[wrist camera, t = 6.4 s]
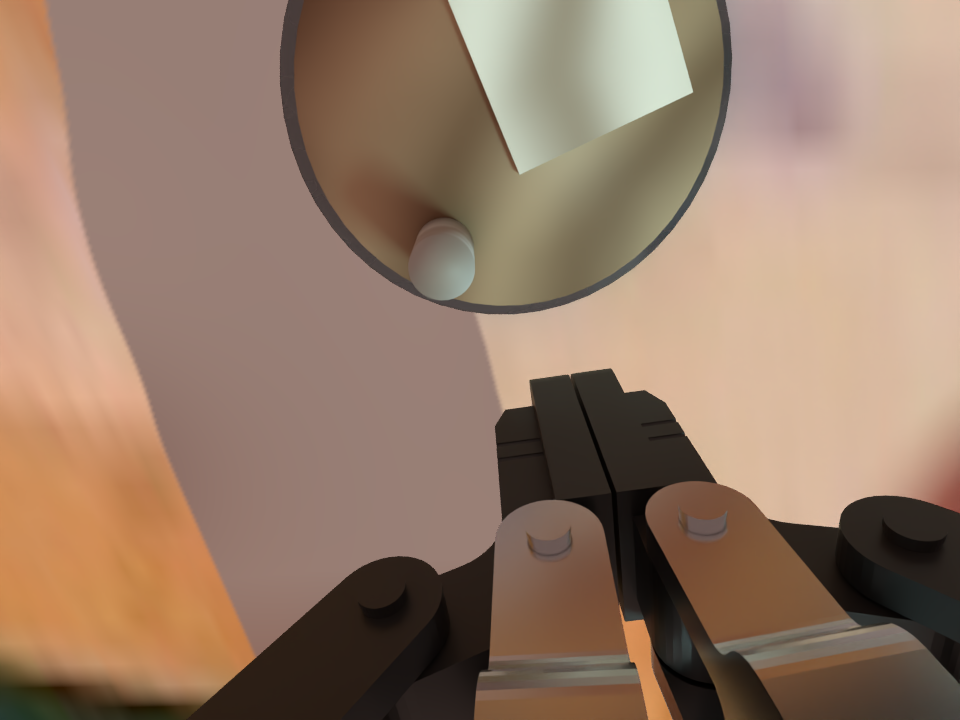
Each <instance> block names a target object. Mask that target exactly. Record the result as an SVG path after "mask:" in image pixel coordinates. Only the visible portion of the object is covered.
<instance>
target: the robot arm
mask: <svg viewBox="0 0 960 720" xmlns="http://www.w3.org/2000/svg"><path fill="white" fill-rule="evenodd" d="M530 391H531V398H532V406H530V407H522V408H515V409H508V410H505V411H504V413H503V414H502V416H501V417H500V419H499V421H498V422H497V424H496V426H495V433H496V444H497V458H498V471H499V485H500V497H501V510H502V523H501V524H500V525H499V527H498V530H497V532H496V537H495V542H494V543H493V545H492V546H491V547H490V548H489V549H488V550H487V551H486V552H485V553H483V554H482V555H481V556H479V557H478V558H476V559H475V560H473V561H472V562H470V563H467V564H465V565H463V566H461V567H458V568H456V569H453V570H451V571H448V572H446V573H443V574H441V575H438V574H437V572H436V571H435V569H434V568H432V567H431V566H430V565H429V564H427V563H426V562H424V561H422V560H419V559H416V558H412V557H402V556H397V557H388V558H383V559H380V560H377V561H374V562H371V563H369V564H367V565H364V566H363V567H361V568H359V569H358V570H356V571H354V572H353V573H352V574H350V575H349V576H348V577H346V578H345V579H344V580H343V581H342V582H341V583H340V584H339V585H338V586H336V587H335V588H334V589H333V590H332V591H331V592H330V593H328V594H327V595H326V596H325V597H324V598H323V599H322V600H321V601H319V602H318V603H317V604H316V605H315V606H314V607H313V608H312V609H310V610H309V611H308V612H307V613H306V614H305V615H304V616H303V617H301V618H300V619H299V620H298V621H297V622H296V623H295V624H293V625H292V626H291V627H290V628H289V629H288V630H287V631H286V632H285V633H283V634H282V635H281V636H280V637H279V638H278V639H277V640H276V641H274V642H273V643H272V644H271V645H270V646H269V647H268V648H267V649H266V650H264V651H263V652H262V653H261V654H260V655H259V656H257V657H256V658H255V659H254V660H253V661H252V662H251V663H250V664H248V665H247V666H246V667H245V668H244V669H243V670H242V671H241V672H239V673H238V674H237V675H236V676H235V677H234V678H233V679H232V680H230V681H229V682H228V683H227V684H226V685H225V686H224V687H223V688H221V689H220V690H219V691H218V692H217V693H216V694H215V695H214V696H212V697H211V698H210V699H209V700H208V701H207V702H206V703H205V704H203V705H202V706H201V707H200V708H199V709H198V710H197V711H196V712H194V713H193V714H192V715H191V716H190V717H189V718H188V719H187V720H648V716H647V711H646V706H645V702H644V697H643V692H642V688H641V683H640V679H639V675H638V671H637V668H636V665H635V663H634V662H633V663H631V662H630V659H629V654H628V649H627V644H626V639H625V634H624V629H623V624H622V619H621V614H620V609H619V603H620V606H621V610H622V613H623V616H624V620H625V621H634V620H642V619H644V621H645V624H646V627H647V630H648V633H649V636H650V641H651V662H652V668H653V672H654V675H655V677H656V680H657V682H658V684H659V687H660V689H661V692H662V694H663V697H664V699H665V702H666V704H667V707H668V709H669V711H670V714H671V716H672V719H673V720H960V513H957V512H954V511H951V510H949V509H946V508H943V507H940V506H937V505H934V504H931V503H928V502H925V501H921V500H917V499H912V498H907V497H899V496H873V497H867V498H863V499H860V500H857V501H855V502H853V503H851V504H849V505H848V506H847V507H846V508H845V509H844V511H843V512H842V514H841V517H840V523H839V528H834V527H823V526H813V525H802V524H792V523H785V522H779V521H775V520H770V519H767V518H766V517H765V515H764V514H763V513H762V512H761V511H760V509H759V508H758V507H757V506H756V505H755V504H754V503H753V502H752V501H751V500H750V499H749V498H748V497H746V496H745V495H743V494H742V493H740V492H738V491H736V490H734V489H732V488H729V487H727V486H723V485H720V484H717V482H716V481H715V479H714V478H713V476H712V474H711V473H710V471H709V470H708V468H707V467H706V465H705V464H704V462H703V461H702V459H701V457H700V456H699V454H698V453H697V451H696V450H695V448H694V447H693V445H692V443H691V442H690V440H689V439H688V437H687V436H685V433H684V431H683V430H682V428H681V426H680V425H679V423H678V422H676V419H675V417H674V416H673V414H672V412H671V411H670V409H669V408H668V406H667V405H666V403H665V402H663V401H662V400H660V399H658V398H657V397H655V396H653V395H652V394H650V393H648V392H647V391H645V390H643V391H636V392H629V393H624V391H623V389H622V387H621V386H620V384H619V382H618V380H617V378H616V376H615V374H614V372H613V371H612V369H603V370H596V371H589V372H582V373H575V374H571V379H570V377H569V375H561V376H554V377H547V378H540V379H533V380H530Z"/></svg>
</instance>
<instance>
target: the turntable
mask: <svg viewBox="0 0 960 720" xmlns="http://www.w3.org/2000/svg"><path fill="white" fill-rule="evenodd" d="M723 70H724V49H723V39H722V28H721V20H720V16H719V11H718V7H717V2H716V0H304V3H303V7H302V11H301V15H300V20H299V24H298V29H297V38H296V47H295V56H294V91H295V99H296V106H297V114H298V122H299V126H300V130H301V133H302V137H303V141H304V145H305V149H306V152H307V155H308V158H309V160H310V163H311V165H312V168H313V171H314V173H315V176H316V178H317V180H318V182H319V184H320V186H321V188H322V190H323V192H324V193H325V195H326V197H327V199H328V201H329V203H330V204H331V206H332V207H333V209H334V210H335V212H336V213H337V215H338V216H339V217H340V219H341V220H342V222H343V223H344V225H345V226H346V227H347V228H348V229H349V231H350V232H351V233H352V234H353V235H354V236H355V237H356V239H357V240H358V241H359V242H360V243H361V244H362V245H363V246H364V247H365V248H366V249H367V250H368V251H369V252H370V253H372V254H373V255H374V256H375V257H376V258H377V259H378V260H380V261H381V262H382V263H383V264H384V265H386V266H387V267H389V268H390V269H392V270H393V271H395V272H396V273H398V274H399V275H400V276H402V277H403V278H405V279H407V280H409V281H411V282H412V283H413V285H414V286H415V288H416V289H417V290H418V291H419V292H420V293H422V294H423V295H425V296H426V297H428V298H431V299H435V300H450V299H457V300H461V301H465V302H470V303H476V304H485V305H495V306H506V305H525V304H532V303H539V302H545V301H549V300H553V299H556V298H560V297H564V296H567V295H570V294H572V293H575V292H577V291H580V290H582V289H585V288H587V287H590V286H592V285H594V284H595V283H597V282H599V281H601V280H603V279H604V278H606V277H608V276H610V275H612V274H613V273H615V272H616V271H617V270H619V269H620V268H622V267H623V266H624V265H626V264H627V263H629V262H630V261H631V260H633V259H634V258H635V257H636V256H637V255H638V254H640V253H641V252H642V251H643V250H644V249H645V248H646V247H647V246H648V245H649V244H650V243H652V242H653V241H654V240H655V238H656V237H657V236H658V235H659V234H660V233H661V231H662V230H663V229H664V228H665V227H666V226H667V225H668V223H669V222H670V221H671V220H672V218H673V217H674V215H675V214H676V213H677V211H678V210H679V208H680V207H681V205H682V204H683V202H684V201H685V199H686V198H687V196H688V194H689V192H690V191H691V189H692V187H693V185H694V183H695V181H696V179H697V177H698V175H699V173H700V172H701V169H702V166H703V164H704V161H705V159H706V156H707V154H708V151H709V148H710V146H711V143H712V139H713V135H714V131H715V128H716V124H717V120H718V116H719V110H720V103H721V96H722V89H723Z"/></svg>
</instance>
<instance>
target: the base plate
mask: <svg viewBox="0 0 960 720" xmlns="http://www.w3.org/2000/svg"><path fill="white" fill-rule="evenodd" d="M716 2H717V7H718V11H719V16H720V20H721V28H722V39H723V49H724V70H723V89H722V96H721V103H720V110H719V116H718V120H717V124H716V128H715V131H714V135H713V139H712V143H711V146H710V148H709V151H708V154H707V156H706V159H705V161H704V164H703V166H702V169H701V172H700V173H699V175H698V177H697V179H696V181H695V183H694V185H693V187H692V189H691V191H690V192H689V194H688V196H687V198H686V199H685V201H684V202H683V204H682V205H681V207H680V208H679V210H678V211H677V213H676V214H675V215H674V217H673V218H672V220H671V221H670V222H669V223H668V225H667V226H666V227H665V228H664V229H663V230H662V231H661V233H660V234H659V235H658V236H657V237H656V238H655V240H654V241H653V242H652V243H650V244H649V245H648V246H647V247H646V248H645V249H644V250H643V251H642V252H641V253H640V254H638V255H637V256H636V257H635V258H634V259H633V260H631V261H630V262H629V263H627V264H626V265H624V266H623V267H622V268H620V269H619V270H617V271H616V272H615V273H613V274H612V275H610V276H608V277H606V278H604V279H603V280H601V281H599V282H597V283H595V284H594V285H592V286H590V287H587V288H585V289H582V290H580V291H577V292H575V293H572V294H570V295H567V296H564V297H560V298H556V299H553V300H549V301H545V302H539V303H532V304H525V305H506V306H495V305H485V304H476V303H470V302H465V301H461V300H457V299H450V300H435V299H431V298H428V297H426V296H425V295H423V294H422V293H420V292H419V291H418V290H417V289H416V288H415V286H414V285H413V283H412V282H411V281H409V280H407V279H405V278H403V277H402V276H400V275H399V274H398V273H396V272H395V271H393V270H392V269H390V268H389V267H387V266H386V265H384V264H383V263H382V262H381V261H380V260H378V259H377V258H376V257H375V256H374V255H373V254H372V253H370V252H369V251H368V250H367V249H366V248H365V247H364V246H363V245H362V244H361V243H360V242H359V241H358V240H357V239H356V237H355V236H354V235H353V234H352V233H351V232H350V231H349V229H348V228H347V227H346V226H345V225H344V223H343V222H342V220H341V219H340V217H339V216H338V215H337V213H336V212H335V210H334V209H333V207H332V206H331V204H330V203H329V201H328V199H327V197H326V195H325V193H324V192H323V190H322V188H321V186H320V184H319V182H318V180H317V178H316V176H315V173H314V171H313V168H312V165H311V163H310V160H309V158H308V155H307V152H306V149H305V145H304V141H303V137H302V133H301V130H300V126H299V122H298V114H297V106H296V99H295V91H294V56H295V47H296V38H297V29H298V24H299V20H300V15H301V11H302V7H303V3H304V0H289V1H288V5H287V9H286V13H285V17H284V24H283V32H282V41H281V49H280V87H281V95H282V104H283V112H284V119H285V123H286V127H287V131H288V135H289V139H290V144H291V148H292V151H293V153H294V156H295V159H296V161H297V164H298V166H299V170H300V172H301V175H302V177H303V179H304V181H305V183H306V185H307V187H308V189H309V191H310V193H311V195H312V197H313V199H314V201H315V203H316V204H317V206H318V207H319V209H320V210H321V212H322V213H323V215H324V216H325V218H326V219H327V221H328V222H329V224H330V225H331V227H332V228H333V229H334V230H335V232H336V233H337V234H338V235H339V236H340V237H341V239H342V240H343V241H344V242H345V243H346V244H347V246H348V247H349V248H350V249H351V250H352V251H353V252H355V254H356V255H358V256H359V257H360V258H361V259H362V260H363V261H364V262H365V263H366V264H368V265H369V266H370V267H371V268H372V269H374V270H375V271H376V272H378V273H379V274H381V275H382V276H383V277H385V278H386V279H388V280H389V281H390V282H392V283H394V284H395V285H397V286H399V287H401V288H403V289H405V290H406V291H409V292H410V293H412V294H414V295H416V296H419V297H421V298H423V299H426V300H429V301H431V302H434V303H436V304H439V305H442V306H447V307H450V308H454V309H458V310H462V311H469V312H476V313H484V314H519V313H527V312H535V311H541V310H545V309H549V308H553V307H557V306H561V305H565V304H567V303H570V302H573V301H575V300H578V299H581V298H583V297H586V296H588V295H590V294H592V293H594V292H596V291H598V290H600V289H602V288H603V287H605V286H607V285H609V284H611V283H613V282H614V281H615V280H617V279H618V278H620V277H621V276H623V275H624V274H626V273H627V272H629V271H630V270H631V269H633V268H634V267H635V266H636V265H638V264H639V263H640V262H641V261H642V260H643V259H644V258H646V257H647V256H648V255H649V254H650V253H651V252H652V251H654V250H655V248H656V247H657V246H658V245H659V244H660V243H661V242H662V241H663V240H664V239H665V237H666V236H667V235H668V234H669V233H670V232H671V231H672V230H673V228H674V227H675V226H676V224H677V223H678V221H679V220H680V219H681V217H682V216H683V214H684V213H685V212H686V210H687V209H688V208H689V206H690V204H691V203H692V201H693V199H694V197H695V196H696V194H697V192H698V190H699V188H700V187H701V185H702V183H703V181H704V179H705V177H706V175H707V172H708V170H709V167H710V165H711V163H712V160H713V158H714V155H715V153H716V150H717V147H718V143H719V140H720V136H721V133H722V130H723V126H724V123H725V118H726V112H727V106H728V100H729V94H730V85H731V65H732V51H731V36H730V23H729V18H728V12H727V7H726V2H725V0H716Z"/></svg>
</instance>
